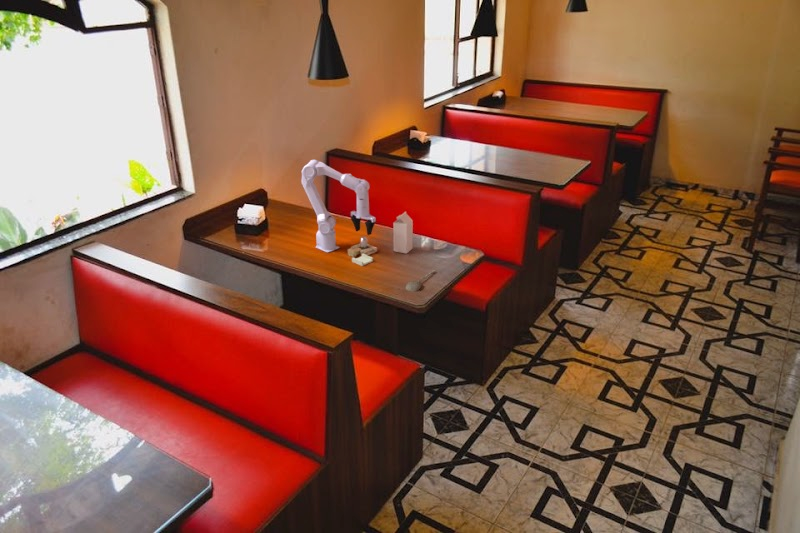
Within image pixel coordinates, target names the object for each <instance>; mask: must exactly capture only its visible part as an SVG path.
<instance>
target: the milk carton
mask: <svg viewBox="0 0 800 533" xmlns="http://www.w3.org/2000/svg"><path fill="white" fill-rule="evenodd" d="M413 221H414V220H413V219H412V218H411V217H410V215H408V213H407V211H404V212H403V213H402V214H399V215H398V216H396V220H395V221H394V222H392V224H393V225H392V226H393V233H392V234H393V236H392V237H393V243H392V244H393V252H395V253H396V252H397V253H400V254H401V253H402V254H408V253H409V252H410V251H412V249H413V247H414V246H413V239H414V238H413V231H414V230H413V229H414V227H413V225H414V223H413Z"/></svg>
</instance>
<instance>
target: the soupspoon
mask: <svg viewBox="0 0 800 533" xmlns="http://www.w3.org/2000/svg"><path fill="white" fill-rule="evenodd" d="M436 273H437V271H436V270H435V269H432V271H430V272H429V273H427V274H426V275H424V276H423V277H421V278H420V279H419V280H418V281H416V280H413V281H409V282H408V283H406V285H405V290H407V291H409V292H412V293H413V292H414V293H416V292H418V291H419V290H420V289H421V287H422V281H423V280H424V279H425V278H427V277H428V276H430V275H432V274H436Z"/></svg>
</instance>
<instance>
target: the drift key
mask: <svg viewBox="0 0 800 533" xmlns="http://www.w3.org/2000/svg"><path fill="white" fill-rule="evenodd" d="M360 250H362V249H361V248H357V249H355V250H354V249H352V248H351V247H350V248H347V256H349V257H351V258H355V257H357V256H358V255H361V254H360Z"/></svg>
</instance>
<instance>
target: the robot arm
mask: <svg viewBox="0 0 800 533" xmlns="http://www.w3.org/2000/svg"><path fill="white" fill-rule="evenodd" d="M300 173H301V185H302V187H303V189H304V191H305V194H306V195H307V198H308V200H309V202H310V204H311V206H312V208H313V211H314V213H315V215H316V219H317V220H316V223H317V225H318V230H317V232H316V234H315V235H316V236H315V238H316V246H315V249H318V250H320V251H323V252H325V253H327V254H328V253H331V252H333V251H336V250H338V249H340V246H338V245H336V242H337V241H336V230H335V226H336V224H337V221H336V218H335V217H334V216H333V215H332V214H331V212H330V211H328V210H327V208H326V205H325V204H324V202H323V200H322V198H321V195H320V194H319V191H318V189H317V186H316V185H315V183H314V181H315V179H316V177H320V176H323V175H325V176H327V177H330V178H332V179H334V180H337V181H339V182H340V184H341V185H342V186H344V187H346V188H348V189H350V190H352V191H354V192H355V194H356V211H355V210H352V211H350V220H351V221H352V223H353V226H354V229H355V232H359V231H360V230H361V220H366V221H364V224H365V228H366V234H367V236H370V235H372V234H373V233H372V232H373V229H374V226H375V224H376V222H377V220H376V218H377V217H375V216H373V215H371V214H370V202H369V200H370V199H369V198H370V197H369V190H370V182H368V181H367V180H366V179H361V178H357V177H355V176H353V175H352V174H351V173H341V172H340V171H338V170H335V169H334V168H332V167H331V166H328V165H327V164H325V163H324V162H323V161H319V160H317V159H311V160H309V161H308V163H307V164H305V165H304V166H303V167H302V170H301V172H300Z"/></svg>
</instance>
